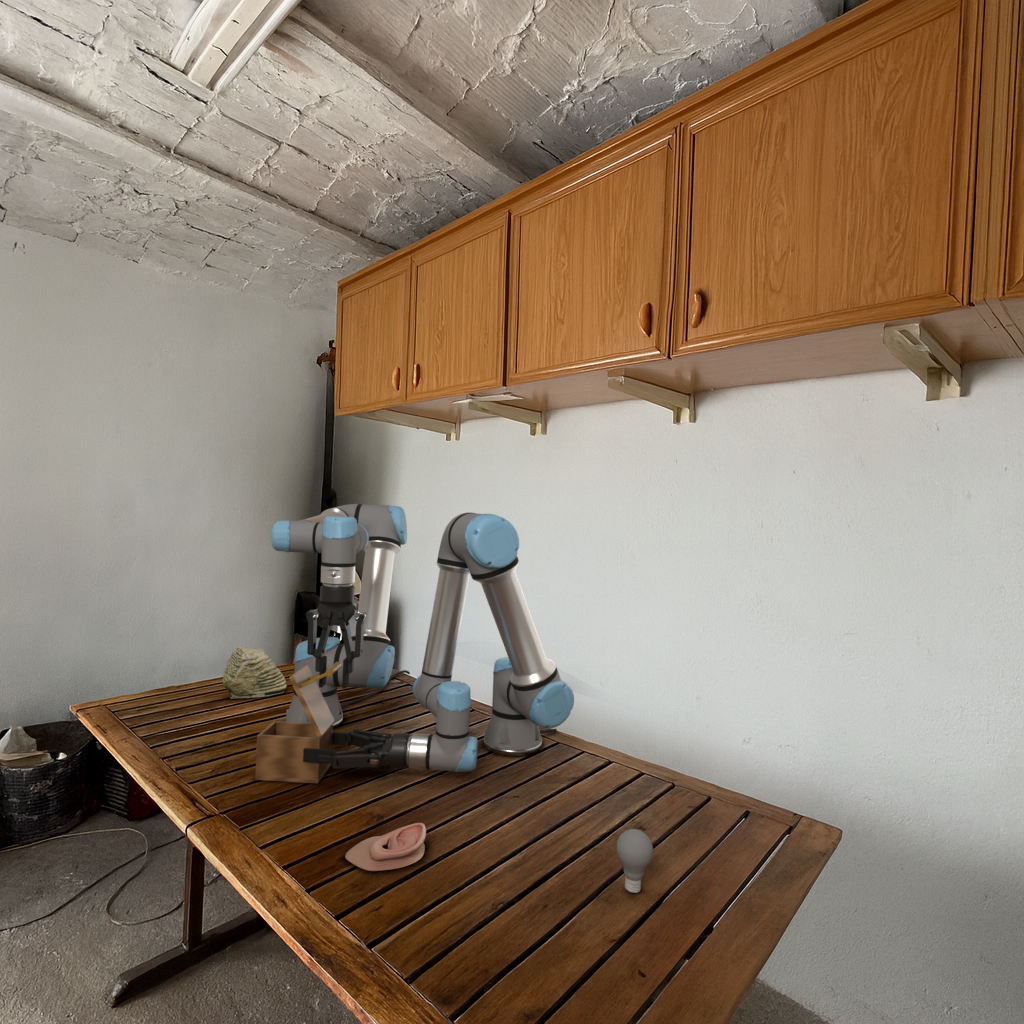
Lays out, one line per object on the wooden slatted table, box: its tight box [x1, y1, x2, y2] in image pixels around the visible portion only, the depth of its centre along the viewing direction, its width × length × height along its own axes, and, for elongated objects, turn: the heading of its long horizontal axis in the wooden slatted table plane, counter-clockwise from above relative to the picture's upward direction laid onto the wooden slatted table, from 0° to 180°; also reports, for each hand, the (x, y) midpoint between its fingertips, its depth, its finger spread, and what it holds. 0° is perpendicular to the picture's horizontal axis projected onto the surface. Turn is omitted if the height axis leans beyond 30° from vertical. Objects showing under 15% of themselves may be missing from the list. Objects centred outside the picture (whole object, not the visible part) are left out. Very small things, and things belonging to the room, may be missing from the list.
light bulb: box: [615, 828, 654, 894], centre depth 106 cm, size 6×6×10 cm
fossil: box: [222, 646, 288, 699], centre depth 198 cm, size 9×18×15 cm, turn 132°
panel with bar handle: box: [288, 662, 341, 737], centre depth 144 cm, size 15×9×9 cm
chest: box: [254, 720, 334, 784], centre depth 145 cm, size 14×9×10 cm
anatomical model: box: [344, 822, 427, 872], centre depth 113 cm, size 13×4×12 cm
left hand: (333, 686), depth 144 cm, fingers open, 5 cm apart
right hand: (311, 745), depth 144 cm, fingers closed on chest, 9 cm apart
